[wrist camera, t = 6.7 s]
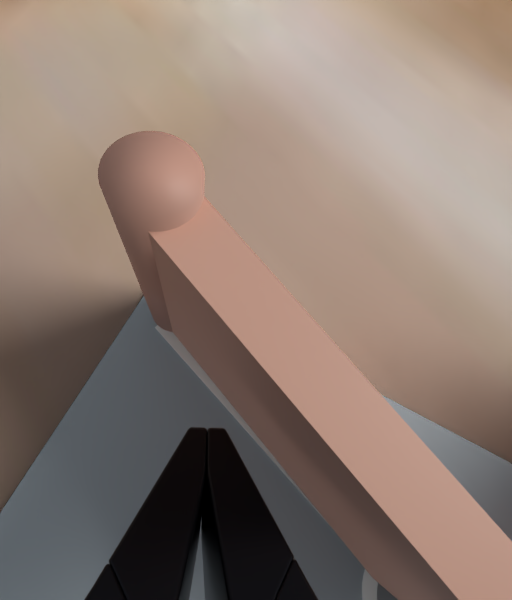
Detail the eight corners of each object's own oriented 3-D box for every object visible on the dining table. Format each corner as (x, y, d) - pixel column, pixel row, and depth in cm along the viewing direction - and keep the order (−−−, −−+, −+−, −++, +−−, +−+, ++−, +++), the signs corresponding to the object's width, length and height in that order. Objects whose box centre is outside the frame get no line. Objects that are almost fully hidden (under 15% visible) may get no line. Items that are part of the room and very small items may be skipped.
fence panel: (463, 597, 14) (879, 867, 5) (416, 665, 13) (829, 1113, 5) (187, 272, 16) (179, 107, 8) (133, 310, 15) (57, 171, 7)
